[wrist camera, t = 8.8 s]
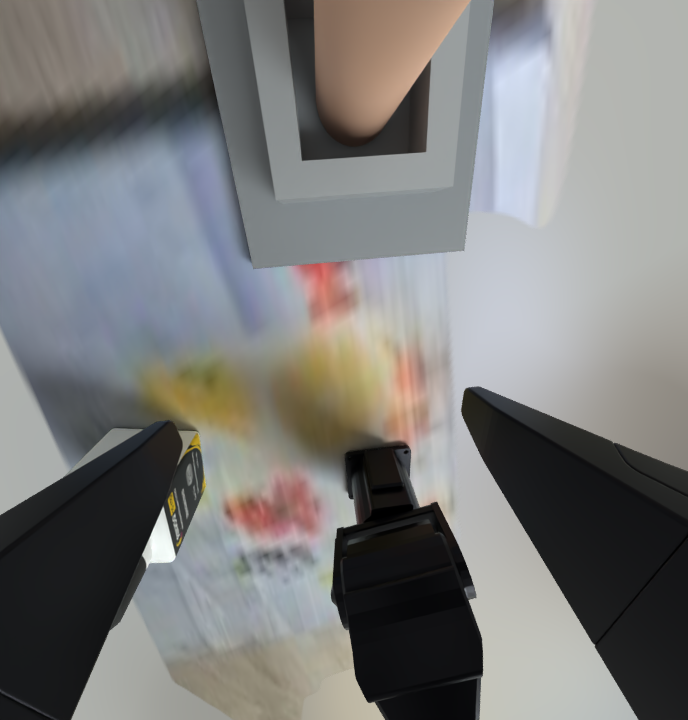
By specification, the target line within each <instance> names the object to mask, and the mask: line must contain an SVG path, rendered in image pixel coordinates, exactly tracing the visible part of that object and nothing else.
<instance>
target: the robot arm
mask: <svg viewBox="0 0 688 720" xmlns="http://www.w3.org/2000/svg"><path fill="white" fill-rule="evenodd" d="M461 412H462V416H463V419H464V421H465V423H466V425H467V427H468V429H469V432H470V434H471V436H472V438H473V440H474V442H475V445H476V447H477V448H478V451H479V453H480V455H481V457H482V459H483V461H484V462H485V464H486V466H487V468H488V469H489V471H490V473H491V474H492V476H493V478H494V479H495V481H496V483H497V484H498V486H499V488H500V489H501V491H502V493H503V494H504V496H505V498H506V499H507V501H508V503H509V504H510V506H511V508H512V509H513V511H514V513H515V514H516V516H517V518H518V519H519V521H520V523H521V524H522V526H523V528H524V529H525V531H526V533H527V534H528V536H529V537H530V539H531V541H532V543H533V544H534V546H535V548H536V549H537V551H538V553H539V554H540V556H541V558H542V559H543V561H544V563H545V564H546V566H547V568H548V569H549V571H550V572H551V574H552V576H553V578H554V579H555V581H556V583H557V584H558V586H559V587H560V589H561V591H562V593H563V594H564V596H565V598H566V599H567V601H568V603H569V604H570V606H571V608H572V609H573V611H574V613H575V614H576V616H577V618H578V619H579V621H580V623H581V624H582V626H583V628H584V629H585V631H586V633H587V634H588V636H589V638H590V639H591V641H592V642H593V644H595V648H596V650H597V651H598V653H599V655H600V656H601V658H602V660H603V661H604V663H605V665H606V666H607V668H608V670H609V671H610V673H611V675H612V676H613V678H614V680H615V681H616V683H617V685H618V686H619V688H620V690H621V691H622V693H623V695H624V696H625V698H626V700H627V701H628V703H629V705H630V706H631V708H632V710H633V711H634V713H635V715H636V716H637V718H638V720H688V471H686V470H683V469H680V468H678V467H675V466H672V465H670V464H667V463H664V462H662V461H659V460H657V459H654V458H652V457H649V456H647V455H644V454H642V453H639V452H637V451H634V450H632V449H629V448H627V447H625V446H622V445H620V444H618V443H613V442H612V441H610V440H607V439H605V438H603V437H600V436H598V435H595V434H593V433H591V432H588V431H586V430H583V429H581V428H578V427H576V426H574V425H571V424H569V423H566V422H564V421H561V420H559V419H556V418H554V417H552V416H549V415H547V414H545V413H542V412H539V411H537V410H535V409H532V408H530V407H528V406H525V405H523V404H520V403H518V402H515V401H513V400H510V399H508V398H506V397H503V396H501V395H499V394H496V393H494V392H491V391H489V390H486V389H484V388H482V387H469V388H466V389H465V391H464V395H463V401H462V408H461ZM182 449H183V441H182V438H181V436H180V434H179V432H178V430H177V427H176V425H175V423H174V422H173V421H170V420H168V421H159V422H155V423H154V424H152V425H150V426H149V427H147V428H145V429H144V430H142V431H140V432H139V433H137V434H135V435H134V436H132V437H130V438H129V439H127V440H125V441H124V442H122V443H120V444H119V445H117V446H115V447H113V448H112V449H110V450H108V451H107V452H105V453H103V454H102V455H100V456H98V457H97V458H95V459H93V460H92V461H90V462H88V463H87V464H85V465H83V466H82V467H80V468H78V469H77V470H75V471H73V472H72V473H70V474H68V475H67V476H65V477H63V478H62V479H60V480H58V481H57V482H55V483H53V484H52V485H50V486H48V487H47V488H45V489H43V490H42V491H40V492H38V493H37V494H35V495H33V496H32V497H30V498H28V499H27V500H25V501H23V502H22V503H20V504H18V505H17V506H15V507H14V508H12V509H10V510H8V511H6V512H5V513H3V514H1V515H0V720H71V719H72V716H73V714H74V712H75V709H76V707H77V705H78V702H79V700H80V698H81V695H82V693H83V691H84V688H85V686H86V684H87V682H88V679H89V677H90V674H91V672H92V670H93V667H94V665H95V663H96V661H97V658H98V656H99V654H100V651H101V649H102V647H103V645H104V642H105V640H106V638H107V635H108V633H109V631H110V628H111V626H112V624H113V621H114V619H115V617H116V614H117V612H118V610H119V608H120V605H121V603H122V601H123V598H124V596H125V594H126V591H127V589H128V587H129V584H130V582H131V580H132V577H133V575H134V573H135V570H136V568H137V566H138V564H139V561H140V559H141V557H142V554H143V552H144V550H145V547H146V545H147V543H148V540H149V538H150V536H151V533H152V531H153V529H154V527H155V524H156V522H157V520H158V517H159V515H160V513H161V510H162V508H163V506H164V503H165V501H166V498H167V496H168V493H169V490H170V487H171V484H172V481H173V477H174V474H175V471H176V468H177V465H178V462H179V458H180V455H181V452H182ZM405 450H406V451H405ZM349 457H350V458H349ZM410 461H411V450H410V447H409V446H407V445H404V446H396V447H387V448H379V449H370V450H362V451H354V452H348V453H346V454H345V463H346V474H347V484H348V494H349V498H350V499H354V506H355V513H356V521H357V525H353V526H350V527H346V528H344V527H341V528H338V529H337V536H336V539H335V551H334V568H333V585H332V590H331V599H332V602H333V603H334V604H335V605H336V606H337V607H338V612H339V615H340V619H341V622H342V625H343V627H344V628H345V629H346V630H349V633H350V639H351V645H352V651H353V660H354V669H355V676H356V680H357V682H358V684H359V686H360V688H361V690H362V692H363V694H364V697H365V698H366V700H367V702H368V703H372V702H375V703H376V705H377V707H378V708H379V710H380V712H381V713H382V715H383V717H384V718H385V720H479V714H480V690H481V677H482V676H483V648H482V637H481V634H480V631H479V628H478V626H477V623H476V620H475V617H474V614H473V612H472V609H471V606H470V603H469V601H468V600H469V599H473V598H476V592H475V588H474V585H473V582H472V579H471V576H470V573H469V570H468V567H467V565H466V562H465V560H464V557H463V555H462V552H461V550H460V548H459V545H458V543H457V541H456V539H455V537H454V535H453V533H452V531H451V529H450V527H449V525H448V523H447V521H446V519H445V517H444V515H443V513H442V511H441V509H440V507H439V505H438V503H437V502H434V503H431V505H427V506H424V507H420V506H419V504H418V501H417V498H416V495H415V492H414V490H413V487H412V484H411V481H410Z"/></svg>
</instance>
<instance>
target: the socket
mask: <svg viewBox="0 0 688 720" xmlns="http://www.w3.org/2000/svg"><path fill="white" fill-rule="evenodd" d="M196 2H197V7H198V12H199V16H200V21H201V26H202V30H203V35H204V40H205V45H206V49H207V54H208V59H209V63H210V68H211V73H212V77H213V82H214V87H215V91H216V96H217V101H218V106H219V110H220V115H221V120H222V124H223V129H224V134H225V138H226V143H227V148H228V152H229V157H230V162H231V166H232V171H233V176H234V181H235V185H236V190H237V195H238V199H239V204H240V209H241V213H242V218H243V223H244V227H245V232H246V237H247V241H248V246H249V251H250V256H251V260H252V265H253V269H258V268H269V267H281V266H292V265H304V264H316V263H327V262H339V261H350V260H362V259H373V258H385V257H396V256H408V255H419V254H431V253H443V252H454V251H464V246H465V239H466V230H467V222H468V214H469V206H470V197H471V189H472V181H473V172H474V164H475V155H476V147H477V139H478V130H479V122H480V114H481V105H482V97H483V89H484V80H485V72H486V64H487V55H488V47H489V39H490V30H491V22H492V14H493V5H494V0H471V1H470V2H469V4H468V5H467V6H466V8H465V9H464V11H463V12H462V14H461V15H460V17H459V18H458V20H457V21H456V23H455V24H454V25H453V27H452V28H451V30H450V31H449V33H448V34H447V36H446V37H445V39H444V40H443V42H442V43H441V44H440V46H439V47H438V49H437V50H436V52H435V53H434V55H433V56H432V58H431V59H430V61H429V62H428V63H427V65H426V66H425V68H424V69H423V71H422V72H421V74H420V75H419V77H418V78H417V79H416V81H415V82H414V84H413V85H412V87H411V88H410V90H409V91H408V93H407V94H406V96H405V97H404V98H403V100H402V101H401V103H400V104H399V106H398V107H397V109H396V110H395V112H394V113H393V115H392V116H391V117H390V119H389V120H388V122H387V123H386V125H385V126H384V128H383V129H382V131H381V132H380V133H379V134H378V136H377V137H376V138H374V139H373V140H372V141H371V142H369V143H367V144H365V145H362V146H357V147H351V146H346V145H343V144H341V143H339V142H337V141H336V140H335V139H333V138H332V137H331V136H330V135H329V134H328V132H327V131H326V130H325V128H324V126H323V125H322V122H321V120H320V118H319V115H318V111H317V106H316V85H315V38H314V0H196Z"/></svg>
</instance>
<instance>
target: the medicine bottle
mask: <svg viewBox="0 0 688 720" xmlns="http://www.w3.org/2000/svg"><path fill="white" fill-rule="evenodd" d="M142 430H144V429H125V428H113V429H111V430H110V431H109V432H108V433H107V434H106V435H105V436H104V437H103V438H102V439H101V440H100V441H99V442H98V443H97V444H96V445H95V446H94V447H93V448H92V449H91V450H90V451H89V452H88V453H87V454H86V455H85V456H84V457H83V458H82V459H81V460H80V461H79V462H78V463H77V464H76V465H75V466H74V467H73V468H72V469H71V470H70V471H69V472H68V473H67V474H66V475H65V476H67V475H68V474H70V473H72V472H73V471H75V470H77V469H78V468H80V467H82V466H83V465H85V464H87V463H88V462H90V461H92V460H93V459H95V458H97V457H98V456H100V455H102V454H103V453H105V452H107V451H108V450H110V449H112V448H113V447H115V446H117V445H119V444H120V443H122V442H124V441H125V440H127V439H129V438H130V437H132V436H134V435H135V434H137V433H139V432H140V431H142ZM178 432H179V434H180V436H181V438H182V441H183V449H182V452H181V455H180V458H179V462H178V465H177V468H176V471H175V474H174V477H173V481H172V484H171V487H170V490H169V493H168V496H167V498H166V501H165V503H164V506H163V508H162V510H161V513H160V515H159V517H158V520H157V522H156V524H155V527H154V529H153V531H152V533H151V536H150V538H149V540H148V543H147V545H146V547H145V550H144V552H143V554H142V557H141V559H140V561H139V564H138V566H137V568H136V570H135V573H134V575H133V577H132V580H131V582H130V584H129V587H128V589H127V591H126V594H125V596H124V598H123V601H122V603H121V605H120V608H119V610H118V612H117V614H116V617H115V619H114V621H113V624H112V626H111V628H110V630H111V629H112V628H113V627H115V626H116V625H117V624H118V623H119V622H120V621H121V619H122V617H123V615H124V613H125V611H126V609H127V607H128V605H129V603H130V601H131V599H132V597H133V595H134V593H135V591H136V589H137V587H138V585H139V583H140V581H141V579H142V577H143V575H144V573H145V571H146V569H147V567H148V565H149V563H169V562H172V561H173V560H174V559H175V558H176V555H177V553H178V550H179V548H180V546H181V543H182V541H183V539H184V536H185V534H186V532H187V529H188V527H189V525H190V522H191V520H192V518H193V515H194V513H195V511H196V508H197V506H198V503H199V501H200V499H201V496H202V494H203V492H204V489H205V487H206V480H205V473H204V465H203V458H202V451H201V443H200V436H199V433H198V432H197V431H178ZM65 476H64V477H65Z"/></svg>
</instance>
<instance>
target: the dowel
mask: <svg viewBox="0 0 688 720" xmlns="http://www.w3.org/2000/svg"><path fill="white" fill-rule="evenodd" d="M470 1H471V0H314V38H315V85H316V106H317V111H318V115H319V118H320V120H321V122H322V125H323V126H324V128H325V130H326V131H327V132H328V134H329V135H330V136H331V137H332V138H333V139H335V140H336V141H337V142H339V143H341V144H343V145H346V146H351V147H357V146H362V145H365V144H367V143H369V142H371V141H372V140H373V139H374V138H376V137H377V136H378V134H379V133H380V132H381V131H382V129H383V128H384V126H385V125H386V123H387V122H388V120H389V119H390V117H391V116H392V115H393V113H394V112H395V110H396V109H397V107H398V106H399V104H400V103H401V101H402V100H403V98H404V97H405V96H406V94H407V93H408V91H409V90H410V88H411V87H412V85H413V84H414V82H415V81H416V79H417V78H418V77H419V75H420V74H421V72H422V71H423V69H424V68H425V66H426V65H427V63H428V62H429V61H430V59H431V58H432V56H433V55H434V53H435V52H436V50H437V49H438V47H439V46H440V44H441V43H442V42H443V40H444V39H445V37H446V36H447V34H448V33H449V31H450V30H451V28H452V27H453V25H454V24H455V23H456V21H457V20H458V18H459V17H460V15H461V14H462V12H463V11H464V9H465V8H466V6H467V5H468V4H469V2H470Z"/></svg>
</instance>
